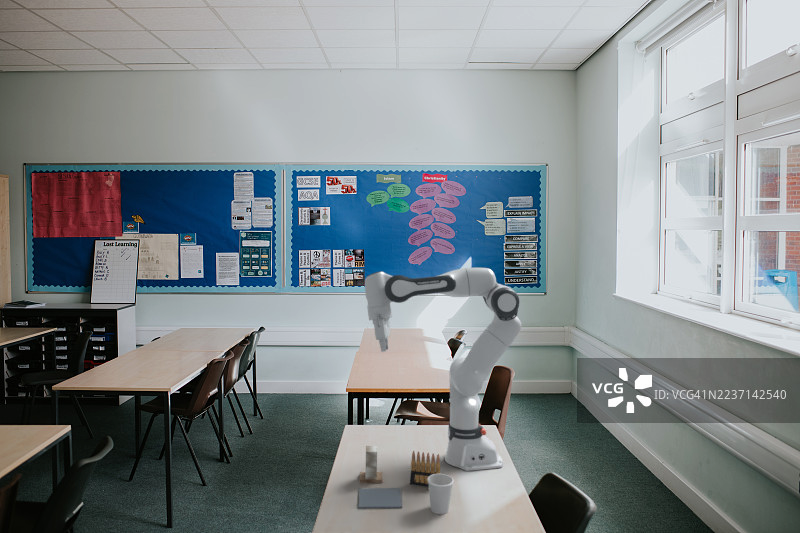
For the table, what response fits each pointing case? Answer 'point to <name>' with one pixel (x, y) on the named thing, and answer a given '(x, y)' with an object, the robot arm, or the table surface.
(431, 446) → the table surface
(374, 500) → the slate mat
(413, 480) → the ammunition clip
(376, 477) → the pale pillar on plinth
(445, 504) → the dixie cup
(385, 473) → the table surface
